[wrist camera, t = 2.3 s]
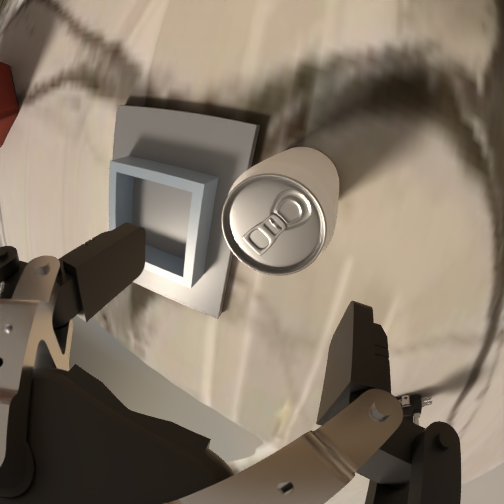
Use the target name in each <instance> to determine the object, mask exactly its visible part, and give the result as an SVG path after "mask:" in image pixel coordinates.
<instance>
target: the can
mask: <svg viewBox="0 0 504 504" xmlns="http://www.w3.org/2000/svg"><path fill="white" fill-rule="evenodd" d="M338 199H339V177H338V173H337V170H336V167H335V166H334V164H333V163H332V161H331V160H330V159H329V158H328V157H327V156H325V155H324V154H323V153H321V152H319V151H318V150H315V149H313V148H309V147H295V148H291V149H288V150H285V151H283V152H281V153H279V154H276V155H274V156H272V157H270V158H268V159H266V160H264V161H262V162H260V163H258V164H256V165H254V166H253V167H251V168H249V169H248V170H246V171H245V172H244V173H243V174H242V175H241V176H240V177H239V178H238V179H237V180H236V181H235V182H234V184H233V185H232V187H231V189H230V191H229V194H228V197H227V198H226V200H225V203H224V206H223V209H222V215H221V225H222V231H223V235H224V238H225V240H226V242H227V244H228V246H229V248H230V249H231V251H232V252H233V254H234V255H235V256H236V257H237V258H238V259H239V260H240V261H241V262H243V263H244V264H245V265H247V266H248V267H250V268H252V269H253V270H256V271H258V272H261V273H264V274H268V275H289V274H293V273H296V272H299V271H301V270H303V269H305V268H306V267H308V266H309V265H310V264H311V263H312V262H313V261H314V260H315V259H316V258H317V257H319V256H320V255H321V254H322V253H323V252H324V250H325V249H326V248H327V246H328V245H329V243H330V241H331V239H332V236H333V234H334V230H335V225H336V219H337V210H338Z"/></svg>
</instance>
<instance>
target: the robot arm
mask: <svg viewBox="0 0 504 504" xmlns="http://www.w3.org/2000/svg"><path fill="white" fill-rule="evenodd" d="M145 246H146V232H145V229H144V228H143V227H140V226H137V225H134V224H132V223H129V222H126V223H124V224H122V225H120V226H119V227H117V228H115V229H113V230H111V231H108V232H104V233H101V234H99V235H98V236H96V237H94V238H93V239H92V240H89V241H87V242H86V243H85V244H82V245H81V246H79V247H77V248H76V249H74V250H72V251H71V252H69V253H68V254H66V255H64V256H63V257H61V258H60V259H57V258H56V257H53V256H40V257H37V258H34V259H33V260H31V261H30V262H29V263H26V262H22V261H19V258H18V254H17V250H16V248H14V247H12V246H4V247H0V504H324V503H325V502H327V501H328V500H329V499H330V498H331V497H333V496H334V495H335V494H336V493H337V492H339V491H340V490H341V489H342V488H343V487H344V486H346V485H347V484H348V483H349V482H350V481H351V480H352V479H353V478H354V476H355V474H354V473H355V472H356V473H358V474H360V475H362V476H364V477H366V478H368V479H370V482H369V487H368V492H367V496H366V501H365V504H460V498H461V452H460V440H459V437H458V434H457V433H456V431H455V430H454V428H453V427H451V426H450V425H449V424H447V423H445V422H440V421H438V422H434V423H432V424H430V425H429V426H428V427H427V428H426V429H425V428H423V427H421V426H419V425H417V424H415V423H413V422H411V421H409V420H408V419H406V418H404V417H403V410H402V407H401V405H400V403H399V401H398V400H397V399H396V398H395V397H394V396H393V395H392V394H391V381H390V365H389V360H388V358H389V352H388V341H387V336H386V334H385V332H384V330H383V328H382V326H381V325H379V324H376V323H374V322H373V309H372V307H370V306H367V305H364V304H361V303H358V302H355V301H351V302H350V304H349V306H348V308H347V310H346V312H345V314H344V316H343V318H342V319H341V321H340V323H339V325H338V327H337V329H336V331H335V333H334V335H333V338H332V340H331V343H330V347H329V353H328V360H327V367H326V373H325V379H324V385H323V391H322V396H321V402H320V407H319V412H318V417H317V422H316V424H318V425H322V426H321V427H320V428H318V429H317V430H315V431H309V432H307V433H305V434H304V435H302V436H301V437H299V438H297V439H296V440H294V441H293V442H291V443H290V444H288V445H287V446H285V447H283V448H282V449H280V450H278V451H277V452H275V453H273V454H272V455H270V456H268V457H267V458H265V459H263V460H261V461H260V462H258V463H256V464H254V465H252V466H250V467H249V468H247V469H245V470H243V471H241V472H239V473H237V474H234V472H233V471H232V470H231V468H230V467H229V466H228V465H227V464H226V463H225V462H224V460H222V459H221V458H220V457H219V456H218V455H217V454H215V453H214V452H212V451H211V450H210V449H209V444H210V440H211V439H209V438H206V437H204V436H202V435H199V434H197V433H195V432H192V431H190V430H188V429H186V428H184V427H181V426H179V425H177V424H175V423H173V422H170V421H166V420H162V419H158V418H155V417H151V416H147V415H144V414H140V413H137V412H134V411H131V410H129V409H128V408H126V407H125V406H124V405H123V404H122V403H121V402H120V401H119V400H118V399H117V398H116V397H115V396H114V395H113V393H112V392H111V391H110V390H109V389H108V388H107V387H106V386H105V385H104V384H103V383H102V382H101V381H99V380H98V379H96V378H95V377H93V376H92V375H90V374H89V373H87V372H86V371H84V370H83V369H82V368H80V367H79V366H78V365H76V364H75V365H74V366H73V367H72V368H71V369H70V370H69V354H70V346H71V338H72V330H73V320H72V318H73V317H75V316H78V317H79V318H81V319H82V320H84V321H85V322H87V321H88V320H89V319H90V318H92V317H93V316H94V315H95V314H96V313H97V312H98V311H99V310H101V309H102V308H103V307H104V306H105V305H106V304H107V303H109V302H110V301H111V300H112V299H113V298H114V297H115V296H117V295H118V294H119V293H120V292H121V291H122V290H124V289H125V288H126V287H127V286H128V285H129V284H131V283H132V282H133V281H134V280H135V279H137V278H138V277H139V276H140V275H141V273H142V272H143V269H144V266H145Z"/></svg>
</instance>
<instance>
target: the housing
mask: <svg viewBox="0 0 504 504" xmlns="http://www.w3.org/2000/svg"><path fill="white" fill-rule="evenodd" d="M259 129H260V125H258V124H253V123H248V122H244V121H239V120H234V119H229V118H223V117H218V116H212V115H206V114H200V113H194V112H187V111H180V110H172V109H163V108H154V107H144V106H132V105H118V106H117V114H116V123H115V134H114V145H113V160H111V161H110V174H109V231H111V230H113V229H115V228H117V227H119V226H120V225H122V224H124V223H126V222H129V223H132V224H134V225H137V226H140V227H143V228H144V229H145V232H146V246H145V266H144V269H143V272H142V273H141V275H140V276H139V277H138V278H137V279H135V280H134V281H133V282H134V283H137V284H139V285H141V286H143V287H145V288H147V289H149V290H152V291H154V292H156V293H158V294H160V295H163V296H165V297H167V298H169V299H172V300H174V301H176V302H179V303H181V304H183V305H186V306H188V307H190V308H193V309H195V310H197V311H200V312H202V313H205V314H207V315H210V316H212V317H215V318H217V319H218V318H219V316H220V315H221V313H222V309H223V303H224V298H225V293H226V288H227V283H228V278H229V273H230V267H231V262H232V257H233V252H232V251H231V249H230V248H229V246H228V244H227V242H226V240H225V238H224V235H223V231H222V225H221V215H222V209H223V206H224V203H225V200H226V198H227V197H228V194H229V191H230V189H231V187H232V185H233V184H234V182H235V181H236V180H237V179H238V178H239V177H240V176H241V175H242V174H243V173H244V172H245V171H246V170H248V169H249V168H251V166H252V161H253V157H254V152H255V147H256V143H257V138H258V134H259Z"/></svg>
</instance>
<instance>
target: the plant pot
mask: <svg viewBox="0 0 504 504" xmlns="http://www.w3.org/2000/svg"><path fill="white" fill-rule="evenodd" d="M18 111H19V107H18V103H17V99H16V95H15V90H14V86H13V81H12V76H11V71H10V66H9V65H7V64H5V63H2V62H0V147H1V146H2V144H3V142H4V140H5V138H6V135H7V133H8V131H9V129H10V127H11V126H12V124H13V122H14V120H15V118H16V116H17V114H18Z"/></svg>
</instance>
